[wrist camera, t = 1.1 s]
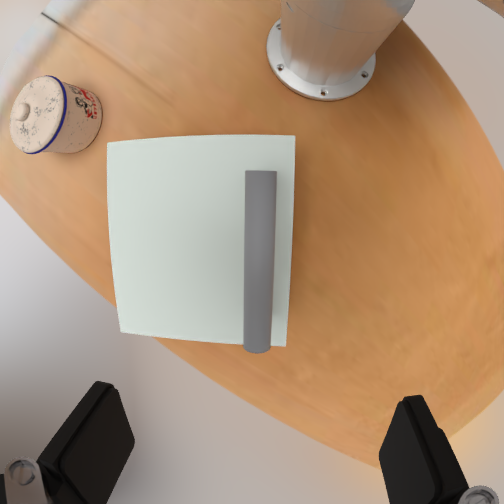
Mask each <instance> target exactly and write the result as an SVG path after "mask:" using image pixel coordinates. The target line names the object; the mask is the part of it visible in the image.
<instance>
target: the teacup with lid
mask: <svg viewBox="0 0 504 504" xmlns="http://www.w3.org/2000/svg"><path fill="white" fill-rule="evenodd" d="M101 119H102V109H101V105H100V102H99V100H98V98H97V97H96V96H95V95H94V94H93V93H91V92H89V91H87V90H84V89H81V88H79V87H76V86H73V85H70V84H67V83H64V82H61V81H60V80H59V79H57V78H56V77H53V76H42V77H38V78H36V79H34V80H32V81H31V82H29V83H28V84H27V85H25V86H24V87H23V89H22V91H21V92H20V93H19V95H18V97H17V99H16V101H15V103H14V105H13V108H12V112H11V117H10V133H11V137H12V140H13V142H14V144H15V145H16V146H17V148H19V149H20V150H21V151H23V152H25V153H27V154H36V153H39V152H59V153H75V152H79V151H81V150H83V149H84V148H86V147H87V146H88V145H89V144H90V143H91V142H92V141H93V140H94V138H95V137H96V135H97V133H98V131H99V128H100V125H101Z"/></svg>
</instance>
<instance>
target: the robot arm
mask: <svg viewBox="0 0 504 504" xmlns="http://www.w3.org/2000/svg"><path fill="white" fill-rule="evenodd" d="M414 1H415V0H281V18H280V19H279V20H278V21H276V22H275V24H274V25H273V27H272V28H271V30H270V32H269V35H268V38H267V45H266V49H267V57H268V61H269V64H270V66H271V68H272V71H273V72H274V73H275V75H276V76H277V78H278V79H279V80H280V81H281V82H282V83H283V84H284V85H285V86H286V87H288V88H289V89H291V90H292V91H294V92H295V93H298V94H300V95H302V96H304V97H307V98H311V99H314V100H322V101H335V100H340V99H344V98H347V97H349V96H352V95H354V94H355V93H357V92H358V91H360V90H361V89H362V88H363V87H364V86H365V85H366V84H367V83H368V82H369V80H370V79H371V77H372V75H373V72H374V70H375V64H376V54H375V51H376V50H377V49H378V48H379V47H380V46H381V44H382V43H383V42H384V41H385V40H386V38H387V37H388V36H389V35H390V34H391V32H392V31H393V30H394V29H395V28H396V27H397V25H398V24H399V23H400V22H401V20H402V19H403V18H404V17H405V16H406V14H407V13H408V12H409V10H410V9H411V7H412V5H413V3H414ZM478 1H479V2H481V3H482V4H484V5H485V6H487V7H489V8H490V9H491V10H493V11H495V12H496V13H498V14H499V15H501V16H502V17H503V18H504V0H478ZM278 29H281V30H278ZM279 68H281V69H282V71H278V69H279ZM362 75H364V76H365V78H364V77H362ZM321 92H324V93H325V96H322V95H321ZM134 443H135V439H134V436H133V433H132V430H131V428H130V425H129V422H128V419H127V417H126V414H125V411H124V408H123V405H122V402H121V399H120V395H119V392H118V390H117V389H115V388H114V386H113V385H112V384H110V383H105V382H100V381H96V382H95V383H94V384H93V385H92V387H91V388H90V389H89V391H88V392H87V393H86V394H85V396H84V397H83V398H82V400H81V401H80V402H79V403H78V405H77V406H76V408H75V409H74V410H73V411H72V413H71V414H70V415H69V417H68V418H67V419H66V421H65V422H64V423H63V425H62V426H61V427H60V429H59V430H58V432H57V433H56V434H55V435H54V437H53V438H52V440H51V441H50V442H49V444H48V445H47V447H46V448H45V449H44V451H43V452H42V453H41V455H40V456H39V458H38V460H37V461H36V462H35V461H34V460H33V459H31V458H28V457H18V458H14V459H13V460H11V461H10V462H9V463H8V464H7V465H6V468H5V470H4V474H0V504H106V503H107V501H108V499H109V497H110V495H111V493H112V491H113V489H114V486H115V484H116V482H117V480H118V478H119V476H120V474H121V472H122V470H123V468H124V465H125V464H126V462H127V460H128V457H129V456H130V453H131V451H132V449H133V447H134ZM379 461H380V465H381V469H382V473H383V477H384V481H385V485H386V489H387V493H388V498H389V502H390V504H499V499H498V496H497V494H496V493H495V492H494V491H493V490H492V489H490V488H489V487H486V486H474V487H472V488H469V486H468V484H467V481H466V479H465V477H464V474H463V472H462V470H461V468H460V465H459V463H458V461H457V459H456V456H455V454H454V452H453V450H452V448H451V446H450V444H449V442H448V439H447V437H446V435H445V433H444V432H443V430H442V429H440V428H438V426H437V424H436V422H435V420H434V418H433V416H432V414H431V412H430V410H429V408H428V406H427V404H426V402H425V400H424V398H423V396H422V395H414V396H407V397H404V398H403V400H402V401H400V402H399V403H398V404H397V407H396V410H395V413H394V416H393V418H392V421H391V424H390V426H389V429H388V431H387V434H386V436H385V439H384V441H383V444H382V446H381V449H380V451H379Z"/></svg>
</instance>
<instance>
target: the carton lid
mask: <svg viewBox="0 0 504 504" xmlns="http://www.w3.org/2000/svg"><path fill="white" fill-rule="evenodd" d="M294 172H295V136H289V135H199V136H178V137H162V138H149V139H138V140H127V141H118V142H109V143H107V199H108V221H109V237H110V250H111V261H112V271H113V280H114V288H115V296H116V303H117V310H118V317H119V323H120V329H121V332H124V333H131V334H139V335H146V336H155V337H163V338H172V339H182V340H192V341H203V342H215V343H229V344H243V347H244V349H245V350H246V351H248V352H251V353H264V352H266V351H268V350H269V349H270V347H271V346H286V337H287V323H288V308H289V291H290V274H291V254H292V232H293V206H294Z"/></svg>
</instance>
